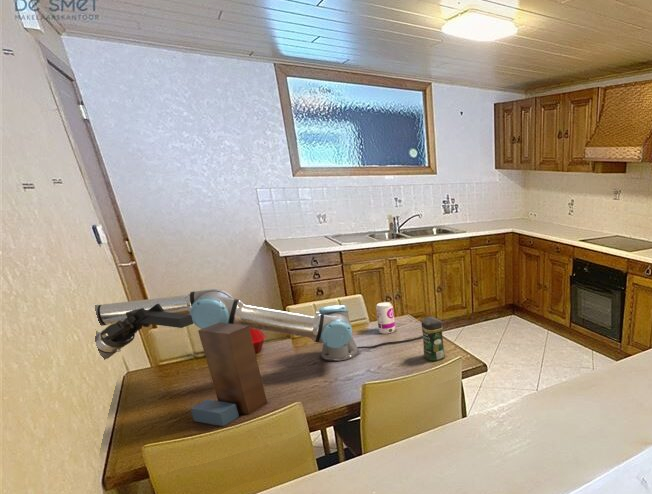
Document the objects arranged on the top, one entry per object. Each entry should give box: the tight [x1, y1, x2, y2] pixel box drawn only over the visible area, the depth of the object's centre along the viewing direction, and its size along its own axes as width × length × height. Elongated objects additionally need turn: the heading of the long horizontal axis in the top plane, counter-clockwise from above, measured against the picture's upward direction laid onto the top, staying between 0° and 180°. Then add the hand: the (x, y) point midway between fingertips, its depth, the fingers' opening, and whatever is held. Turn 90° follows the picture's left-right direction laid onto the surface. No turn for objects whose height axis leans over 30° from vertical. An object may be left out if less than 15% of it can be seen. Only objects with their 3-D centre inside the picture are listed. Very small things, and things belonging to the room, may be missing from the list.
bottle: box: [249, 328, 266, 354], centre depth 194 cm, size 16×14×20 cm
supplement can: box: [375, 301, 396, 335], centre depth 220 cm, size 8×8×15 cm
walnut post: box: [197, 323, 268, 415], centre depth 147 cm, size 12×8×30 cm, turn 77°
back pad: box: [126, 309, 195, 329], centre depth 135 cm, size 21×4×3 cm, turn 77°
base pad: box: [190, 399, 240, 427], centre depth 144 cm, size 12×6×5 cm, turn 77°
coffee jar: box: [421, 316, 445, 362], centre depth 191 cm, size 10×8×19 cm
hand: (152, 309), depth 134 cm, fingers closed on back pad, 4 cm apart
